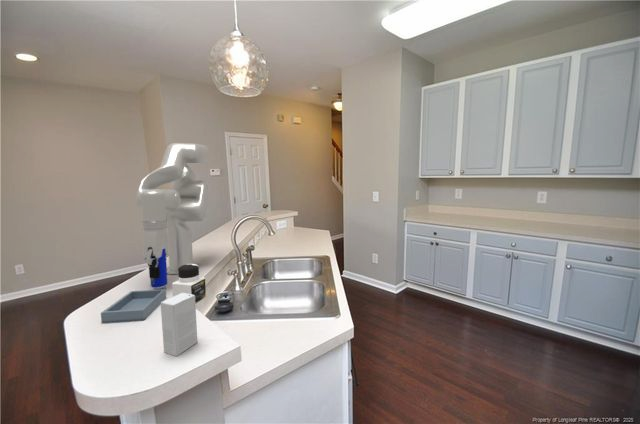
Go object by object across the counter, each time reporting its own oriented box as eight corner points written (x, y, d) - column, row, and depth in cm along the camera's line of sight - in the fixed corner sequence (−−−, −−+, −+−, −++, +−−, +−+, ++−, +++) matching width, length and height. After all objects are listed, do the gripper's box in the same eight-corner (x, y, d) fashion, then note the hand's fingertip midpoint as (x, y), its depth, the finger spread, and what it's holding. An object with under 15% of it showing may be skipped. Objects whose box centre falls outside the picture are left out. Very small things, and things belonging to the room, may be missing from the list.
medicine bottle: (192, 306, 84) (190, 269, 83) (172, 304, 85) (170, 267, 84) (206, 297, 91) (205, 263, 90) (187, 295, 92) (186, 261, 91)
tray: (131, 299, 89) (131, 291, 88) (166, 297, 90) (165, 289, 90) (101, 323, 73) (100, 312, 73) (143, 320, 75) (143, 310, 75)
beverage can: (149, 285, 98) (146, 245, 96) (165, 282, 101) (163, 243, 99) (152, 290, 94) (149, 248, 92) (169, 286, 97) (166, 246, 95)
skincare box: (184, 338, 66) (182, 292, 65) (198, 342, 64) (196, 294, 63) (162, 352, 60) (159, 301, 59) (176, 357, 59) (173, 305, 58)
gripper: (154, 221, 102) (157, 267, 105) (130, 230, 86) (135, 284, 88) (175, 221, 104) (178, 266, 106) (156, 229, 87) (159, 283, 89)
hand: (158, 274), depth 97 cm, fingers closed on beverage can, 5 cm apart
